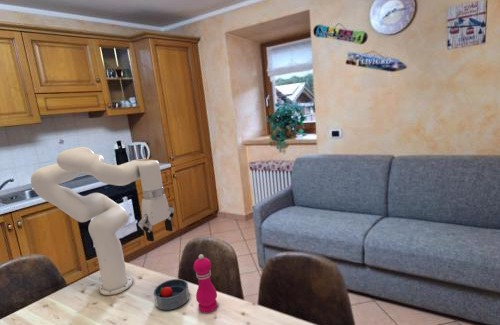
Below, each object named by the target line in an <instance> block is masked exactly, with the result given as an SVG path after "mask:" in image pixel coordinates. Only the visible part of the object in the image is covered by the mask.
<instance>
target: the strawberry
mask: <svg viewBox="0 0 500 325" xmlns="http://www.w3.org/2000/svg"><path fill="white" fill-rule="evenodd" d="M159 293H161V297H162V298H168V297H172V294H173V291H172V289H171V288H170V287H165V288H161V289H160V291H159Z"/></svg>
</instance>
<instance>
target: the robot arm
mask: <svg viewBox="0 0 500 325" xmlns="http://www.w3.org/2000/svg"><path fill="white" fill-rule="evenodd" d="M81 174H83V175H86V176H87V175H88V176H92V177H94V178H95V179H96V180H97V181H99V182H100V183H102V184H107V185H111V186H119V187H120V186H121V187H123V186H127V185H129V184H131V183H134V182H137V181H139V180H140V186H141V190H142V191H141V192H142V197H143V198H142V199H141V219H140V220H139V221H138V223H137V226H138V227H139V228H140V230H142V231H143V232H144V233H145V237H146V241H148V242H151V243H152V242H154V241H155V236H154V231H153V230H152V229H153V226H155V225H157V224H160V223H161V222H163V221H164V228H165V231H168V232H173V224H172V221H173V217H174V212H175V208H174V207H172V206H169V202H168V199H167V195H166V194H165V192H164V190H165V186H163V177H162V172H161V166H160V162H159V161H158V160H156V159H151V160H150V159H149V160H135V159H133V160H130V161H128V162H127V161H126V162H124V163H121V164H118V165H117V164H111V163H106V160H105V158H104V155H102V154H100V153H94V151H93V150H92V149H91V148H89V147H87V146H78V147H73V148H68V149H64V150H63V151H61V152H60V153H59V154H58V155H57V157H56V162H55V163H53V164H49V165H45V166H42V167H40V168H38V169H36V170H34V172H33V173H32V174H31V177H30V183H31V187H32V189H33V191H34V192H35V194H36V195H37V196H38V197H40V198H41V199H42V200H44V201H46V202H48V203H50V204H51V205H53V206H55V207H56V208H58V209H59V210H60V211H62V212H63V213H65V214H66V215H68V216H69V217H70V218H71V219H73V220H75V221H77V222H79V223H86V222H88V221H90V222H89V223H88V233H89V236H90V238H91V241H92V243H93V245H94V250H95V254H96V259H97V263H98V267H99V272H100V276H99V277H98V280H99V281H101V285H100V286H99V290H98V291H99V293H100V294H101V295H103V296H114V295H116V294H120V293H123V292H124V291H126V290H128V289H129V288H130V287H131V286H132V284H133V278H132V277H131V276H129V275H128V273H127V267H126V262H125V257H124V256H125V255H124V252H123V247H122V243H121V240H120V238H118V236H117V234H116V233H117V232H119V231H120V230H121V229H123V228H124V227H126V225H127V224H128V222H129V220H130V216H129V213H128V211H127V210H126V209H125V208H124V207H123V206H122V205H120V204H119V203H117V202H115V201H114V200H113V199H111V198H109V197H108V196H107V195H105V194H104V193H100V192H92V193H89V194H87V195H81V194H80V193H78V192H76V191H75V190H74V189H71V188H69V187H66V186H63V185H61V184H65V183H67V182H70V181H72V180H75V179H76V178H77V177H78V176H80V175H81Z"/></svg>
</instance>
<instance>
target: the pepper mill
mask: <svg viewBox="0 0 500 325" xmlns="http://www.w3.org/2000/svg"><path fill="white" fill-rule="evenodd" d="M211 268H212V262H211V260H210V259H209V258H208V257H205V256H204V254H202V253H200V254H199V255H198V258H197V259H195V261H194V263H193V271H194V272H195V275H196V278H197V281H198V286H197V290H196V293H195V299H196V302H197V303H198V309H199V311H200V312H202V313H205V314H206V313H212V312H213V311H215V310H216V309H217V308H218V303H217V298H218V293H217V290H216V287H215V286H214V284H213V282H212V281H211V280H212V279H211V276H212V271H211Z"/></svg>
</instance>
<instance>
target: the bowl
mask: <svg viewBox="0 0 500 325" xmlns="http://www.w3.org/2000/svg"><path fill="white" fill-rule="evenodd" d="M165 287H170V288H171V289H172V291H173V294H172V297H168V298H162V297H161V293H159V291H160V289H161V288H165ZM153 297H154V303H155V304H154V305H155V306H156V307H157V308H158V309H160V310H163V311H167V310H168V311H170V310H175V309H177V308H179V307H181V306H183V305H184V304H186V303H187V302H188V301H189V298H190V290H189V283H188V282H187V281H186V280H185V279H181V278H175V279H174V278H173V279H169V280H166V281H163V282H162V283H160V284H158V285H157V286H156V287H155V288H154V290H153Z"/></svg>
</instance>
